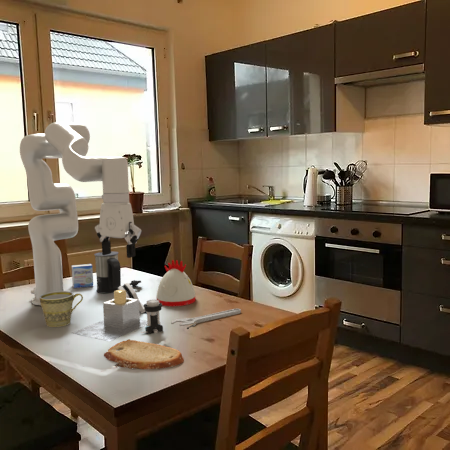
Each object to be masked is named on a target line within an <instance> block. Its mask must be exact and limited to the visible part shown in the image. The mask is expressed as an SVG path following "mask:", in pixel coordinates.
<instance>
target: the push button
mask: <svg viewBox="0 0 450 450" xmlns="http://www.w3.org/2000/svg"><path fill="white" fill-rule="evenodd" d="M143 306H144V309H145V311H146V312H147V314H146V319H147V320H146V321H147V325H145V326H144V329H145V331H140V333H141V334H144V333H145V334H147V335H151V334H158V333H160V332H163V331H164V326H163V325H162V324H161V322H160V311H161V310H162V309H163V305H162V303H159V301H158V300H157V299H149V300H147V301H146V303H144V304H143ZM146 312H145V313H146Z"/></svg>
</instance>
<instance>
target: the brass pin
mask: <svg viewBox="0 0 450 450" xmlns="http://www.w3.org/2000/svg"><path fill="white" fill-rule="evenodd" d="M113 299H114V303H116V304H124V303H126V291H125V290H116V291H114V292H113Z"/></svg>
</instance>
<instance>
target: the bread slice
mask: <svg viewBox="0 0 450 450" xmlns="http://www.w3.org/2000/svg"><path fill="white" fill-rule="evenodd" d="M103 357H104V358H105V359H106V360H108V361H110V362H113V363H114V362H115V363H116V364H114V365H113V366H114V367H119V368H123V369H130V370H131V369H132V368H133V370H134V369H136V370H137V369H138V370H160V369H161V370H162V369H167V368H173V367H177V366H178V365H180V364H183V363H184V362H185V358H184V357H183V355H182V353H181V351H180V350H178V349H176V348H173V347H170V346H167V345H161V344H157V343H153V342H152V343H151V342H145V341H139V340H135V339H126V340H122V341H120V342H118V343H116V344H115V345H112V346H111V347H109V349H107V351H105V352H104V353H103Z"/></svg>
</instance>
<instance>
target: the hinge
mask: <svg viewBox="0 0 450 450" xmlns="http://www.w3.org/2000/svg"><path fill="white" fill-rule="evenodd" d="M118 290H125V291H126V298H132V299H138V300H139V312H140V314H143V313H145V314H146V315H147V312H146V311H145V309H144V304H142V302H141V301H140V299H139V296H138V294H137V292H136V291H135V289H134V287H133V286H132V285H130V282H126V283H123V285H121V286H120V287H118Z"/></svg>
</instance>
